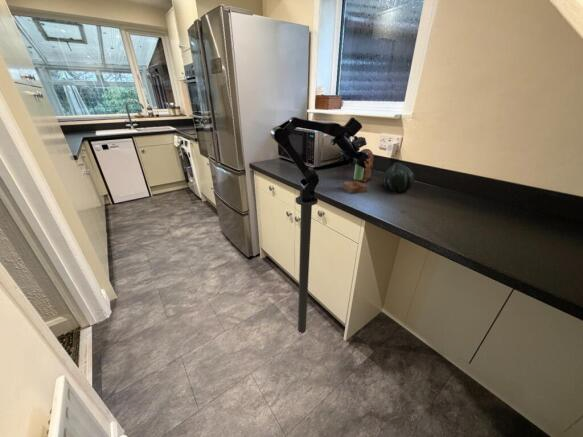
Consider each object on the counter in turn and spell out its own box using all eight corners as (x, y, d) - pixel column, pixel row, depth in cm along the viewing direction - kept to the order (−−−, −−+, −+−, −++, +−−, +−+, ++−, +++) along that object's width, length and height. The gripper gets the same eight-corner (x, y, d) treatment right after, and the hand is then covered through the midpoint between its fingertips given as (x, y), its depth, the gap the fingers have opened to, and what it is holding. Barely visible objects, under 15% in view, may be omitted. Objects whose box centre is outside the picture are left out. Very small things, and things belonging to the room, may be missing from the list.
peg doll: (359, 180, 117) (362, 157, 112) (351, 178, 120) (354, 156, 115) (364, 178, 120) (367, 156, 114) (356, 176, 123) (360, 154, 117)
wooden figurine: (360, 183, 133) (365, 151, 124) (351, 180, 137) (355, 149, 129) (372, 179, 139) (378, 148, 131) (364, 176, 144) (368, 146, 135)
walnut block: (351, 193, 119) (351, 188, 117) (342, 187, 126) (342, 182, 125) (366, 191, 121) (366, 186, 120) (356, 186, 129) (357, 180, 128)
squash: (424, 182, 119) (410, 156, 120) (407, 189, 111) (393, 161, 113) (401, 192, 131) (389, 169, 133) (385, 199, 124) (372, 174, 125)
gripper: (368, 134, 100) (385, 158, 108) (347, 128, 116) (363, 150, 124) (350, 153, 102) (368, 176, 110) (332, 145, 118) (348, 165, 126)
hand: (362, 166), depth 117 cm, fingers closed on peg doll, 4 cm apart
